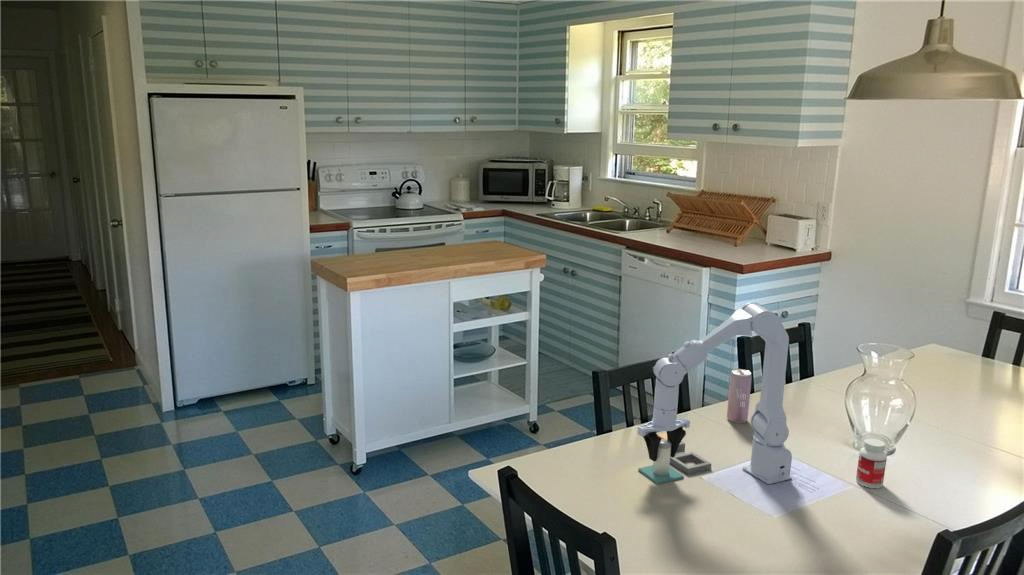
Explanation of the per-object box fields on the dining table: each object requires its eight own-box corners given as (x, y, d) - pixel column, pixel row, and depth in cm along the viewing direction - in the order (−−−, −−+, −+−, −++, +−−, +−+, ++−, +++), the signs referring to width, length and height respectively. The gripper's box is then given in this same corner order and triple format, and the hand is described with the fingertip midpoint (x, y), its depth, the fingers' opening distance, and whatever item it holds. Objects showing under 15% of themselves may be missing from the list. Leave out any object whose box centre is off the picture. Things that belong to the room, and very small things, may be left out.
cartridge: (672, 473, 193) (674, 444, 191) (659, 476, 191) (661, 446, 190) (662, 467, 197) (664, 438, 195) (649, 470, 195) (651, 440, 193)
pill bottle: (850, 478, 195) (856, 437, 192) (873, 477, 195) (879, 436, 193) (864, 489, 189) (869, 447, 186) (887, 489, 189) (893, 447, 187)
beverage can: (745, 416, 233) (749, 369, 230) (749, 424, 227) (753, 375, 224) (725, 415, 233) (729, 368, 230) (728, 423, 228) (732, 374, 224)
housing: (710, 469, 198) (711, 458, 197) (687, 474, 194) (688, 463, 194) (670, 444, 212) (671, 433, 211) (648, 448, 209) (649, 438, 208)
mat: (683, 478, 192) (683, 475, 192) (657, 484, 189) (657, 481, 189) (663, 464, 199) (664, 462, 199) (638, 470, 196) (638, 468, 196)
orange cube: (677, 451, 207) (678, 437, 206) (665, 454, 205) (666, 440, 204) (668, 446, 210) (669, 432, 209) (656, 448, 208) (657, 434, 208)
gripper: (678, 397, 197) (675, 446, 200) (631, 405, 190) (628, 456, 193) (696, 406, 191) (692, 457, 194) (648, 415, 184) (645, 467, 187)
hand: (661, 457), depth 193 cm, fingers open, 5 cm apart
